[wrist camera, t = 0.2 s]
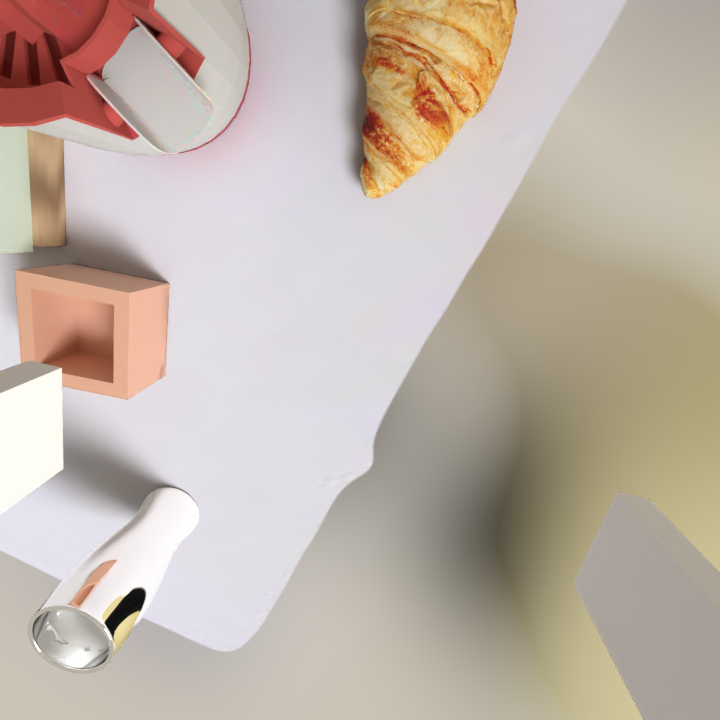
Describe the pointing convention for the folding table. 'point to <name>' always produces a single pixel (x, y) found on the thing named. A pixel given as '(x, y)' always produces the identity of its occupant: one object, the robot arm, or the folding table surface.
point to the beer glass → (112, 586)
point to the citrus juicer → (124, 71)
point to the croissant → (426, 79)
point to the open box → (94, 327)
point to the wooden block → (47, 189)
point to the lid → (15, 192)
